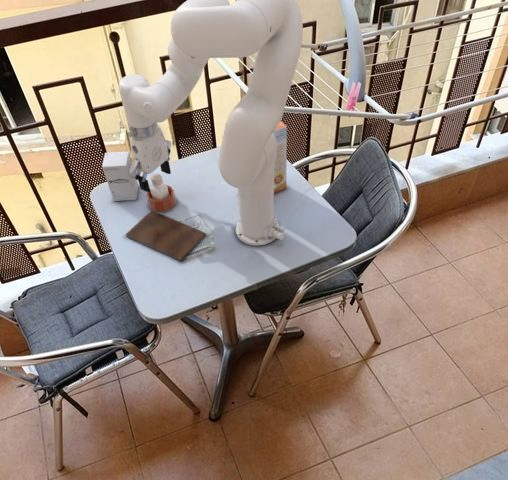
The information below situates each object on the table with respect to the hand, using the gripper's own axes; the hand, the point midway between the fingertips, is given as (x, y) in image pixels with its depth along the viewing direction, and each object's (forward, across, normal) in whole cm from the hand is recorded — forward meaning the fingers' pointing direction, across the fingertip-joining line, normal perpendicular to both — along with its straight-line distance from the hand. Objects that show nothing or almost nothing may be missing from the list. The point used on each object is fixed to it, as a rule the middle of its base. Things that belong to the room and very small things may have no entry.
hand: (156, 181), depth 137 cm
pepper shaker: (+8, 0, 0) cm, 8 cm away
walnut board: (+8, -11, -10) cm, 17 cm away
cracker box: (+8, +20, -24) cm, 33 cm away
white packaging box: (+8, -2, +12) cm, 15 cm away
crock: (+8, 0, 0) cm, 8 cm away
